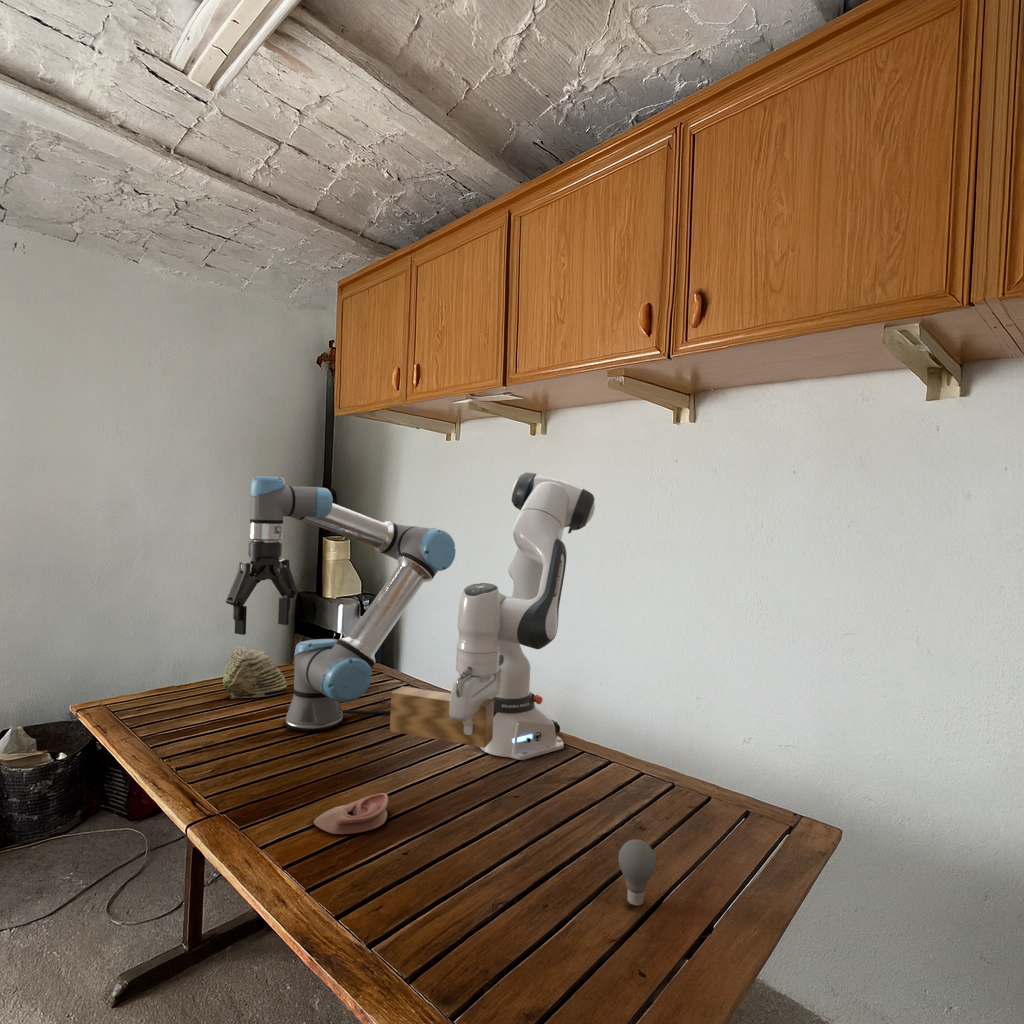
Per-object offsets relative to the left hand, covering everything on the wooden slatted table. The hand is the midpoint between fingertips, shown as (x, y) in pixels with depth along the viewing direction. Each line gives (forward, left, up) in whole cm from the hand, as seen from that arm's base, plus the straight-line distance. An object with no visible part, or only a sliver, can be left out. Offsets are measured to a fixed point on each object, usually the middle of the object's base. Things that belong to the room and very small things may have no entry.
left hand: (262, 629), depth 152 cm
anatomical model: (+4, +41, -31) cm, 52 cm away
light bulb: (-11, +95, -31) cm, 101 cm away
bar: (-14, +47, -17) cm, 52 cm away
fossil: (-23, -43, -31) cm, 58 cm away
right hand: (-17, +54, -14) cm, 59 cm away
